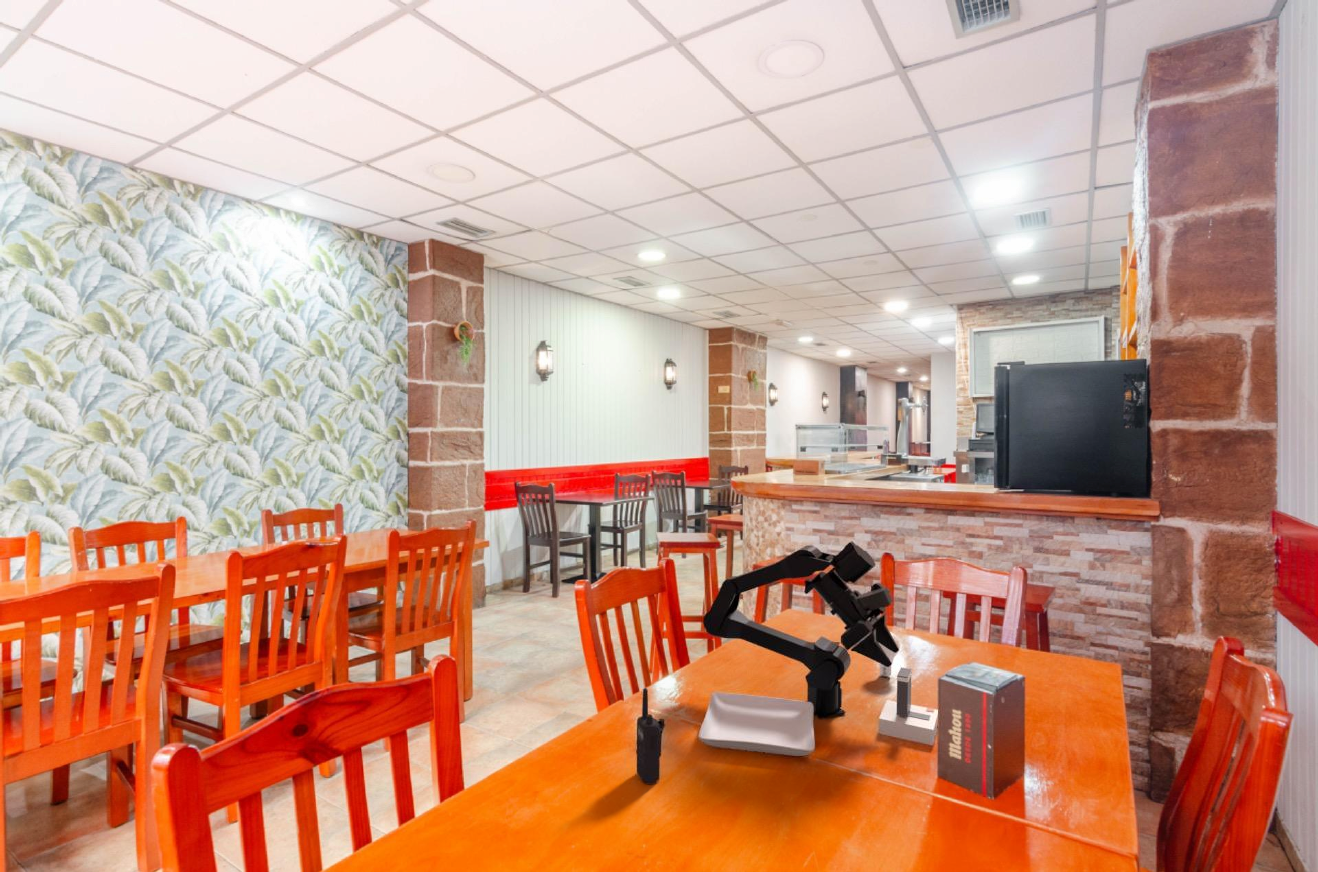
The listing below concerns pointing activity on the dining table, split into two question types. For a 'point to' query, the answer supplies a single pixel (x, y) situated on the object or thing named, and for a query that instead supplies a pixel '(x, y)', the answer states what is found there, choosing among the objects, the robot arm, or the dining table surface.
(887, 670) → the lightbulb
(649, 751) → the two-way radio
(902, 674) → the breaker toggle
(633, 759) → the dining table surface
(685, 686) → the dining table surface
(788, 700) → the salad plate
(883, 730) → the block
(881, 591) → the robot arm
